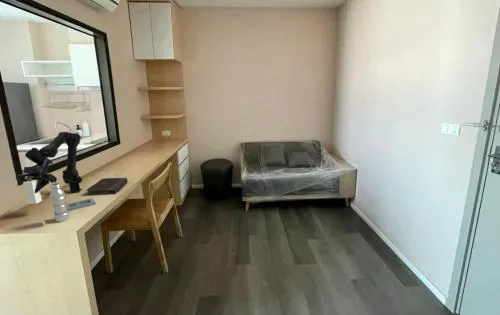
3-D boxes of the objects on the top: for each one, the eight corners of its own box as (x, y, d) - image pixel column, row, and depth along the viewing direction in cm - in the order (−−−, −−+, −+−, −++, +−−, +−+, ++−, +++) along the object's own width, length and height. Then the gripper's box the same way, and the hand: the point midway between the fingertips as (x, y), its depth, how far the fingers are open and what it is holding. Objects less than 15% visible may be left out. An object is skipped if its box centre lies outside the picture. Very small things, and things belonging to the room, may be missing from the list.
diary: (128, 183, 199) (127, 177, 198) (116, 196, 175) (115, 189, 174) (101, 184, 197) (100, 178, 196) (85, 197, 173) (84, 190, 171)
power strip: (63, 214, 149) (62, 209, 148) (61, 209, 154) (60, 204, 154) (96, 205, 159) (95, 201, 158) (92, 202, 165) (92, 197, 164)
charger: (28, 203, 146) (22, 179, 143) (33, 200, 150) (28, 177, 147) (36, 203, 147) (31, 179, 143) (41, 200, 150) (36, 177, 147)
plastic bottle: (59, 225, 136) (51, 187, 131) (52, 222, 139) (44, 185, 134) (72, 220, 142) (65, 183, 137) (65, 217, 145) (58, 181, 140)
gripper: (14, 160, 147) (1, 186, 139) (49, 159, 147) (38, 186, 139) (28, 170, 156) (17, 195, 148) (61, 169, 156) (52, 194, 148)
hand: (30, 192), depth 146 cm, fingers closed on charger, 4 cm apart
